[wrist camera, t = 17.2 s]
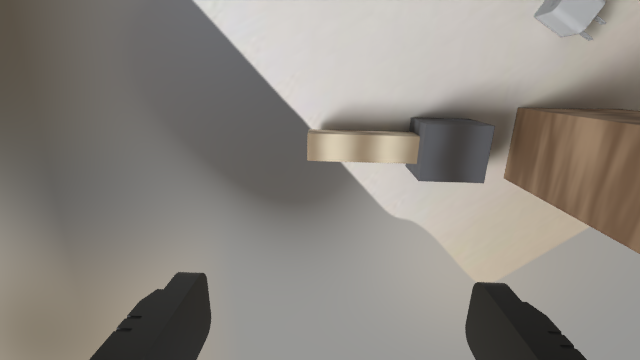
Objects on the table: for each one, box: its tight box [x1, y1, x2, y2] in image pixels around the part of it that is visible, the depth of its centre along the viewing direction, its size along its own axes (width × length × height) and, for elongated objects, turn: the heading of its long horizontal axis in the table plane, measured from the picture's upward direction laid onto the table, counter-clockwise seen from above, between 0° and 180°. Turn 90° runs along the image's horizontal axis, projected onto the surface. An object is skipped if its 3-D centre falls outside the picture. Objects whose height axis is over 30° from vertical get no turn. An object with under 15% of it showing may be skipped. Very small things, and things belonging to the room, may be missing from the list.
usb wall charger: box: [534, 0, 606, 40], centre depth 37 cm, size 4×7×4 cm, turn 59°
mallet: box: [307, 118, 495, 183], centre depth 41 cm, size 22×7×7 cm, turn 89°
